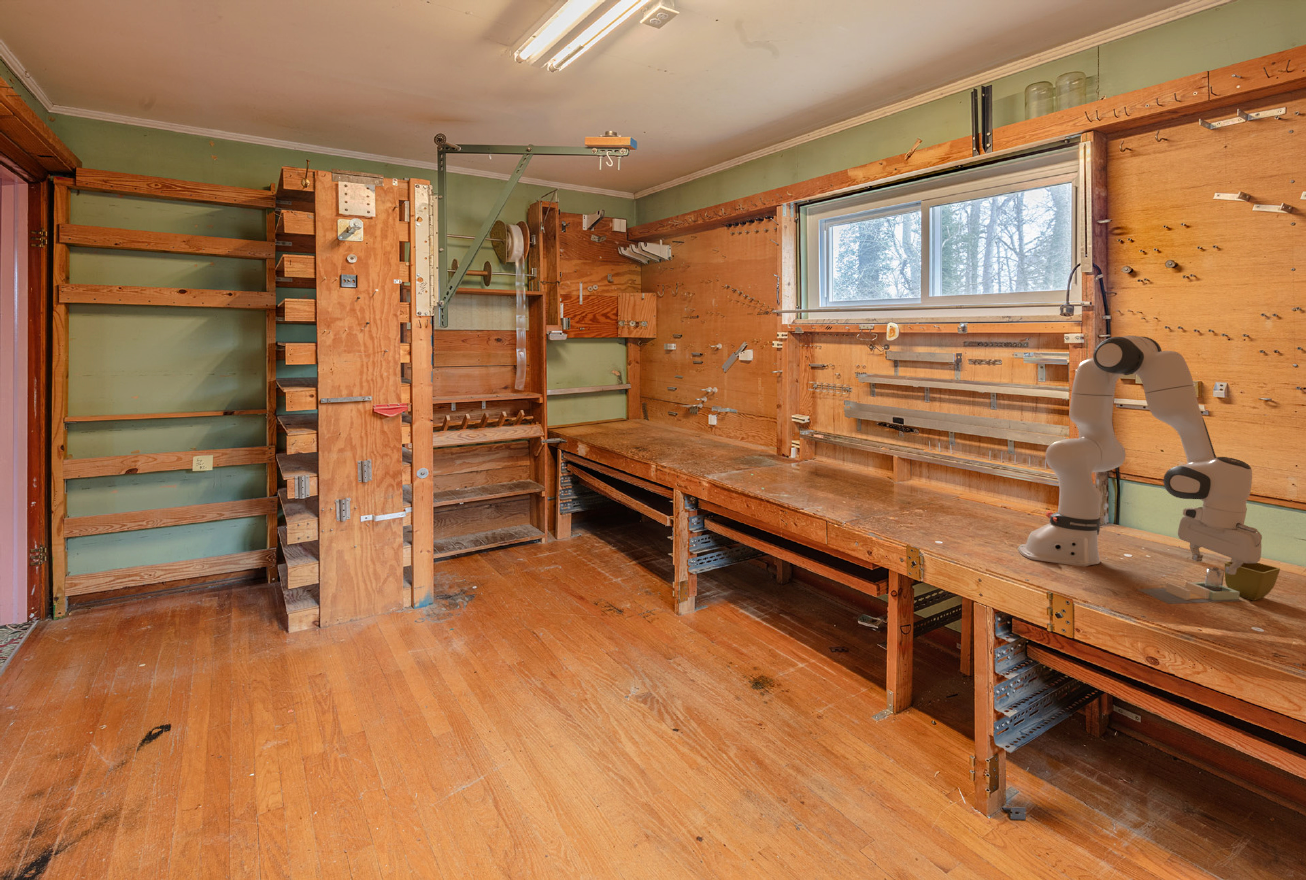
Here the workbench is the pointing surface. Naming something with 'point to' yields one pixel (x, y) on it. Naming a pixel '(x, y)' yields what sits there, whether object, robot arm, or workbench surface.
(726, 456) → the workbench surface
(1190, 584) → the cradle
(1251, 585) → the flower pot
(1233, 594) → the pale green flat frame
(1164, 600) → the board
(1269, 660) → the workbench surface
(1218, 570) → the cell
